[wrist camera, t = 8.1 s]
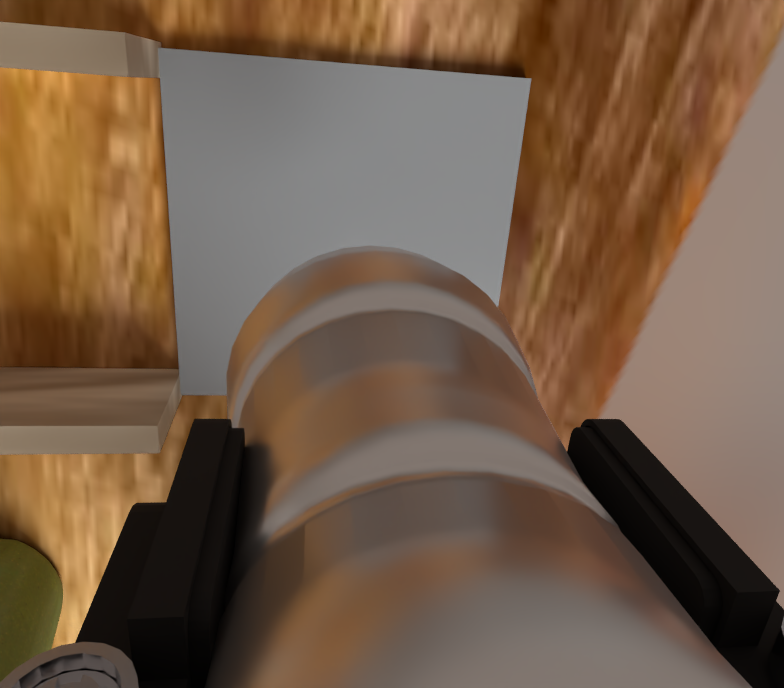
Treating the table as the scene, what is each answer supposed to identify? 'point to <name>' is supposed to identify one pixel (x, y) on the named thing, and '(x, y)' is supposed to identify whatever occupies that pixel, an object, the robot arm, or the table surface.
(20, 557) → the plant pot
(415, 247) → the tile
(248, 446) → the plastic bottle
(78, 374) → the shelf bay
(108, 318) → the table surface
